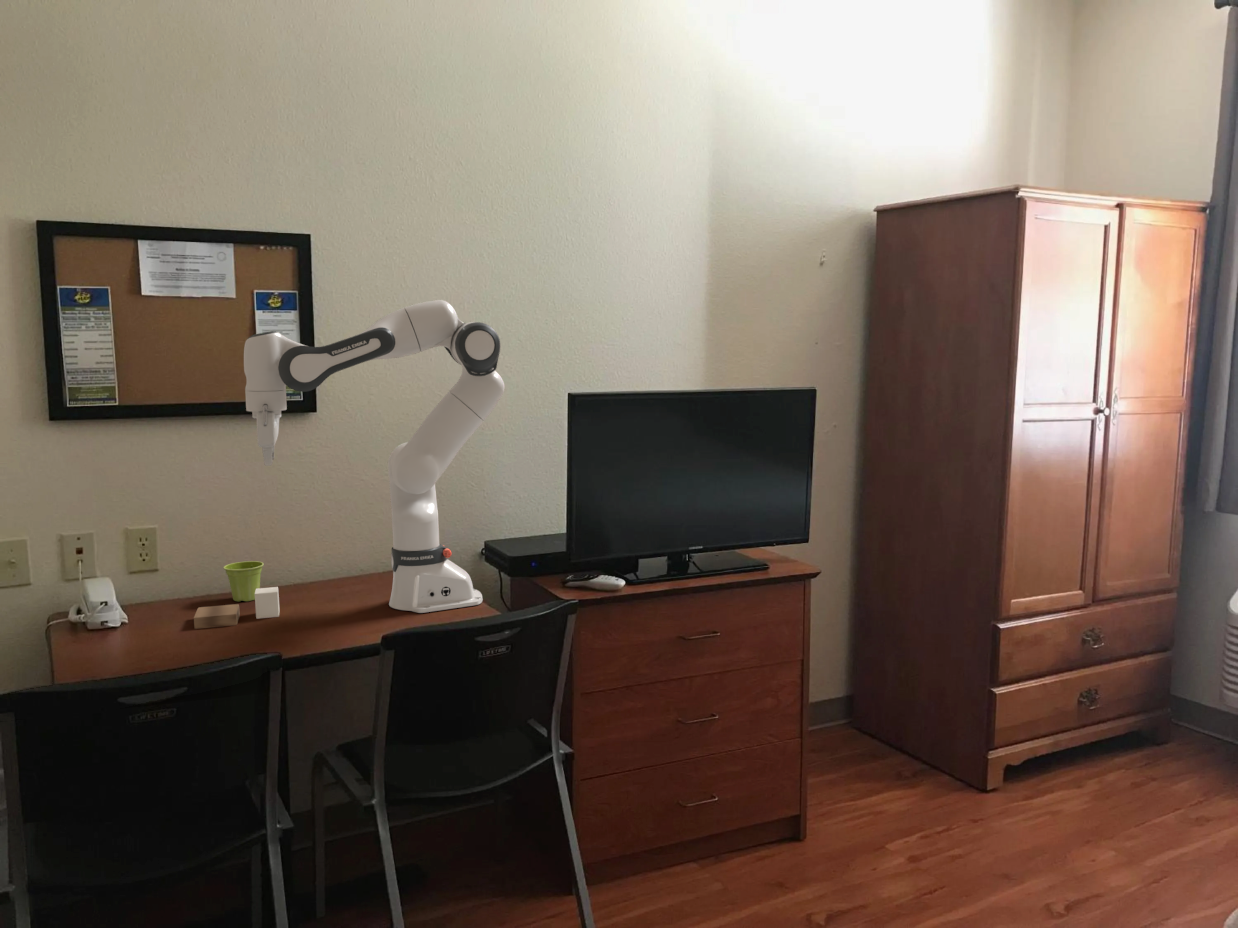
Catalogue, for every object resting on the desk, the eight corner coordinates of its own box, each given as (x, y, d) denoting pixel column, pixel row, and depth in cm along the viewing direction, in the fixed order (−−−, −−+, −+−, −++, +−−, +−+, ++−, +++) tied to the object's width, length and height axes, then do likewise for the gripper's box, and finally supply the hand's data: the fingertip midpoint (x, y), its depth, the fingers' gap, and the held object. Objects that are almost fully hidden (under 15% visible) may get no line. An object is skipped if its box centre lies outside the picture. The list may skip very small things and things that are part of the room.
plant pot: (218, 599, 255) (216, 566, 253) (253, 592, 262) (251, 559, 260) (238, 606, 249) (235, 571, 247) (273, 597, 256) (270, 564, 254)
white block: (279, 611, 244) (278, 586, 243) (278, 616, 239) (277, 591, 238) (257, 613, 242) (255, 588, 241) (256, 618, 238) (254, 593, 237)
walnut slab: (239, 616, 241) (238, 603, 241) (236, 626, 233) (236, 614, 232) (199, 619, 239) (198, 607, 238) (194, 630, 230) (193, 617, 230)
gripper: (279, 405, 224) (282, 467, 226) (282, 399, 244) (285, 456, 246) (248, 406, 223) (252, 469, 224) (254, 400, 242) (257, 458, 244)
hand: (269, 462), depth 235 cm, fingers open, 8 cm apart
